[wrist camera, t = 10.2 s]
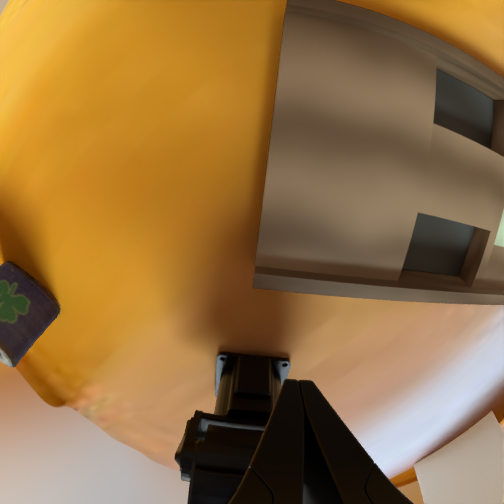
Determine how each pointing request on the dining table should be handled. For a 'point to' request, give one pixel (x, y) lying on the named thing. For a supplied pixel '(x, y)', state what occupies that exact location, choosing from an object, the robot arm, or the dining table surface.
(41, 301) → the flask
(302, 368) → the dining table surface
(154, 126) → the dining table surface
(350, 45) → the box
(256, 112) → the dining table surface
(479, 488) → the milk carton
